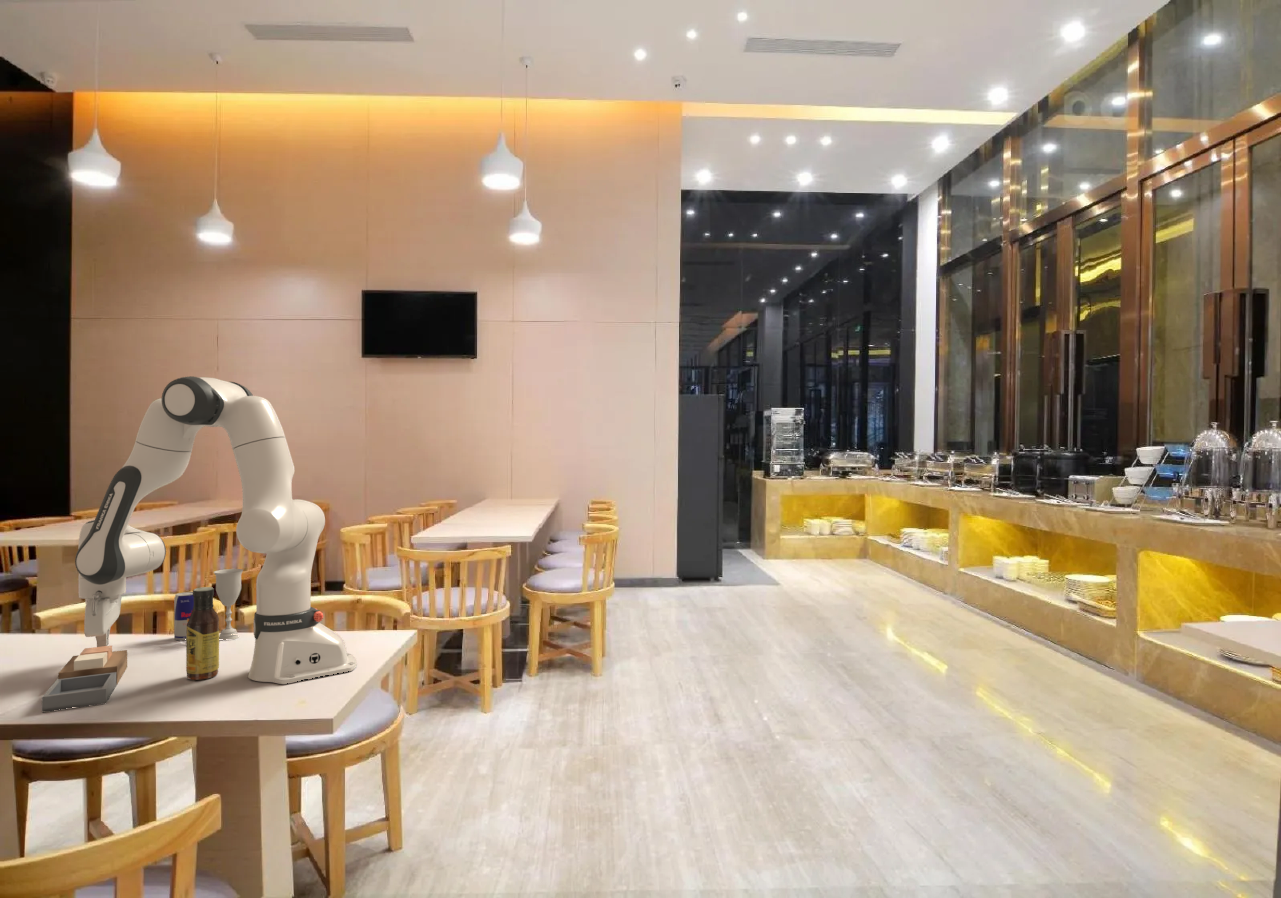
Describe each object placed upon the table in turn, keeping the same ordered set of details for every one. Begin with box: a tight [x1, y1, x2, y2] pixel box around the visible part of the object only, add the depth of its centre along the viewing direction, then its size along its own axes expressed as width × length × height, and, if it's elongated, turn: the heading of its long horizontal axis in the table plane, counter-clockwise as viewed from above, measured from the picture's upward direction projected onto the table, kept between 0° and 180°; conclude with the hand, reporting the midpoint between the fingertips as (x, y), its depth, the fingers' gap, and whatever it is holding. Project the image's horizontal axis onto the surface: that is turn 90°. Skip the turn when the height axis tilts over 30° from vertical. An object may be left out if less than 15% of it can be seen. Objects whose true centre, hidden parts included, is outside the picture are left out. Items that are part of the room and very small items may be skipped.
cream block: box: [74, 652, 107, 671], centre depth 154 cm, size 5×5×2 cm
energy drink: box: [173, 591, 194, 641], centre depth 191 cm, size 5×5×12 cm
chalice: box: [213, 568, 244, 641], centre depth 191 cm, size 7×7×18 cm
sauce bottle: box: [185, 586, 220, 681], centre depth 159 cm, size 6×6×20 cm
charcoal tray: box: [41, 672, 117, 712], centre depth 145 cm, size 10×12×3 cm
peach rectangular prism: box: [79, 645, 113, 660], centre depth 159 cm, size 5×5×2 cm
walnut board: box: [57, 649, 128, 686], centre depth 157 cm, size 10×14×4 cm
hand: (102, 647), depth 165 cm, fingers closed
